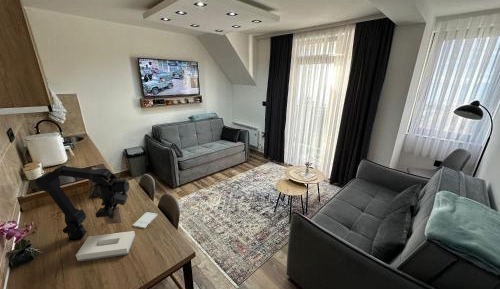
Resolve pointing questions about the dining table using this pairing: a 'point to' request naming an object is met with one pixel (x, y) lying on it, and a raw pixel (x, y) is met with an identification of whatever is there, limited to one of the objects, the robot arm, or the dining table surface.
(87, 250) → the slotted board
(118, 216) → the walnut plate
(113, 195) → the robot arm
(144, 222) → the external hard drive
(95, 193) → the owl
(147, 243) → the dining table surface
